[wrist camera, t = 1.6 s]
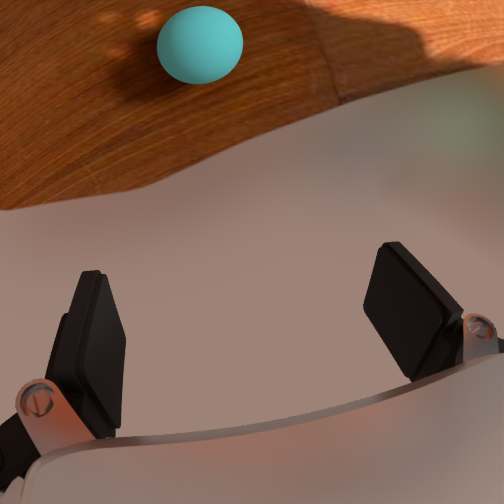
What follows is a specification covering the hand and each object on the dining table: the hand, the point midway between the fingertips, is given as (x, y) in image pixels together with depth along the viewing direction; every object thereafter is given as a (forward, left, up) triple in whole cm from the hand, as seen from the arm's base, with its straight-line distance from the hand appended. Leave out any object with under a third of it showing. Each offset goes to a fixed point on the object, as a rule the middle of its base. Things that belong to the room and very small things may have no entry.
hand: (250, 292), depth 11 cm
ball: (-1, +9, -16) cm, 18 cm away
